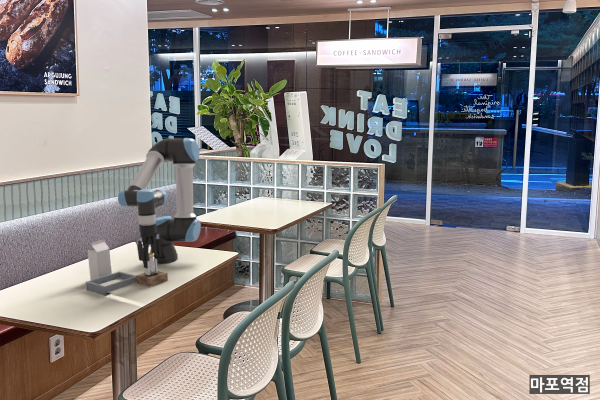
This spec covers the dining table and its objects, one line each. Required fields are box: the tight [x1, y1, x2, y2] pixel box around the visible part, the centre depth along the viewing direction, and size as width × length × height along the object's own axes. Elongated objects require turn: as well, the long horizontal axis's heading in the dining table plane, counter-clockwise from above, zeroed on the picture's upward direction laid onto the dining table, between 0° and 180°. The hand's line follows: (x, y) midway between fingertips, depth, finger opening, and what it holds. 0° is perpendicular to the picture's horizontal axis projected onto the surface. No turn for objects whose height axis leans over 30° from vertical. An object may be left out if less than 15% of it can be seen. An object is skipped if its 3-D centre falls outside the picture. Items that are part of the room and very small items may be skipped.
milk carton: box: [87, 239, 113, 281], centre depth 260 cm, size 7×7×19 cm
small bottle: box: [148, 251, 156, 277], centre depth 250 cm, size 4×4×14 cm
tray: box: [85, 270, 137, 297], centre depth 249 cm, size 18×14×4 cm
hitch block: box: [135, 270, 169, 288], centre depth 251 cm, size 10×10×5 cm
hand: (151, 273), depth 251 cm, fingers closed on small bottle, 3 cm apart
